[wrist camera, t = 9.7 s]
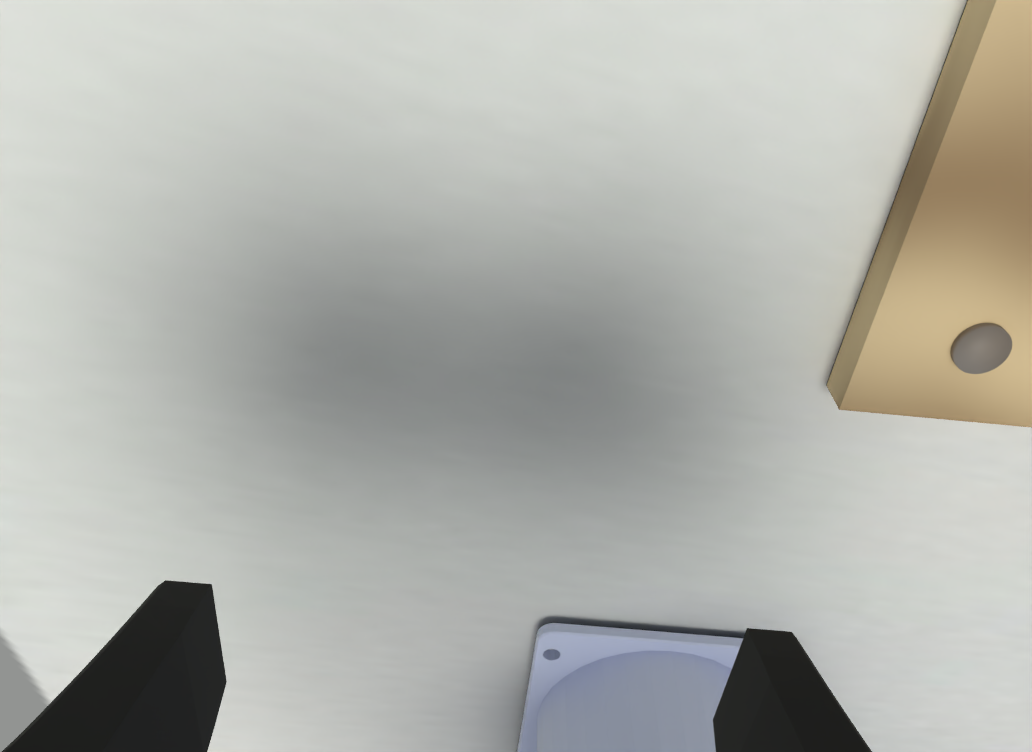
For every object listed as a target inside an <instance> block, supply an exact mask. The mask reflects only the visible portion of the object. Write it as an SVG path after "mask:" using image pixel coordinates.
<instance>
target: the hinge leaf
mask: <svg viewBox="0 0 1032 752" xmlns="http://www.w3.org/2000/svg"><path fill="white" fill-rule="evenodd" d="M827 387H828V389H829V391H830V393H831V395H832V397H833V399H834V401H835V402H836V404H837V406H838V408H839V410H849V411H860V412H871V413H882V414H893V415H903V416H914V417H925V418H936V419H947V420H958V421H968V422H979V423H990V424H1001V425H1012V426H1023V427H1032V0H968V1H967V4H966V7H965V9H964V12H963V15H962V18H961V20H960V23H959V26H958V29H957V31H956V34H955V37H954V39H953V42H952V45H951V48H950V50H949V53H948V56H947V59H946V61H945V64H944V67H943V69H942V72H941V75H940V78H939V80H938V83H937V86H936V89H935V91H934V94H933V97H932V99H931V102H930V105H929V108H928V110H927V113H926V116H925V119H924V121H923V124H922V127H921V129H920V132H919V135H918V138H917V140H916V143H915V146H914V149H913V151H912V154H911V157H910V159H909V162H908V165H907V168H906V170H905V173H904V176H903V179H902V181H901V184H900V187H899V189H898V192H897V195H896V198H895V200H894V203H893V206H892V209H891V211H890V214H889V217H888V219H887V222H886V225H885V228H884V230H883V233H882V236H881V239H880V241H879V244H878V247H877V249H876V252H875V255H874V258H873V260H872V263H871V266H870V269H869V271H868V274H867V277H866V279H865V282H864V285H863V288H862V290H861V293H860V296H859V299H858V301H857V304H856V307H855V309H854V312H853V315H852V318H851V320H850V323H849V326H848V328H847V331H846V334H845V337H844V339H843V342H842V345H841V348H840V350H839V353H838V356H837V358H836V361H835V364H834V367H833V369H832V372H831V375H830V378H829V380H828V383H827Z"/></svg>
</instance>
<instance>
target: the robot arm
mask: <svg viewBox="0 0 1032 752" xmlns="http://www.w3.org/2000/svg"><path fill="white" fill-rule="evenodd" d="M550 649H551V650H550ZM225 685H226V676H225V669H224V662H223V656H222V649H221V643H220V636H219V629H218V623H217V616H216V610H215V603H214V596H213V590H212V584H201V583H189V582H177V581H164V582H163V583H161V584H160V585H159V586H157V588H156V589H155V590H154V591H153V592H152V593H151V594H150V596H149V597H148V598H147V599H146V600H145V601H144V602H143V604H142V605H141V606H140V607H139V608H138V609H137V610H136V612H135V613H134V614H133V615H132V616H131V617H130V618H129V619H128V621H127V622H126V623H125V624H124V625H123V626H122V627H121V628H120V630H119V631H118V632H117V633H116V634H115V635H114V636H113V637H112V638H111V640H110V641H109V642H108V643H107V644H106V645H105V646H104V647H103V648H102V649H101V651H100V652H99V653H98V654H97V655H96V656H95V657H94V658H93V659H92V660H91V661H90V662H89V664H88V665H87V666H86V667H85V668H84V669H83V670H82V671H81V672H80V673H79V674H78V675H77V676H76V677H75V678H74V679H73V681H72V682H71V683H70V684H69V685H68V686H67V687H66V688H65V689H64V690H63V691H62V692H61V693H60V694H59V695H58V696H57V697H56V698H55V699H54V700H53V701H52V702H51V703H50V704H49V705H48V706H47V707H46V708H45V710H44V711H43V712H42V713H41V714H40V715H39V716H38V717H37V718H36V719H35V720H34V721H33V722H32V723H31V724H30V725H29V726H28V727H27V728H26V729H25V730H24V731H23V732H22V733H21V734H20V735H19V736H18V737H17V738H16V739H15V740H14V741H13V742H12V743H11V744H10V745H9V746H8V747H6V748H5V749H4V750H3V751H2V752H207V750H208V747H209V743H210V740H211V736H212V733H213V729H214V726H215V722H216V719H217V715H218V711H219V708H220V704H221V700H222V697H223V693H224V689H225ZM517 752H872V751H871V750H870V748H869V747H868V745H867V744H866V743H865V741H864V740H863V738H862V737H861V735H860V734H859V732H858V731H857V729H856V728H855V726H854V725H853V723H852V722H851V720H850V719H849V717H848V716H847V714H846V713H845V712H844V710H843V709H842V707H841V706H840V704H839V703H838V701H837V700H836V698H835V696H834V695H833V693H832V692H831V690H830V689H829V687H828V686H827V684H826V683H825V681H824V680H823V678H822V677H821V675H820V674H819V672H818V670H817V669H816V667H815V666H814V664H813V663H812V661H811V660H810V658H809V657H808V655H807V653H806V652H805V650H804V649H803V647H802V646H801V644H800V643H799V641H798V640H797V638H796V637H795V636H794V635H793V633H792V632H785V631H773V630H761V629H749V628H747V630H746V633H745V635H744V638H733V637H721V636H709V635H696V634H684V633H672V632H660V631H648V630H635V629H623V628H611V627H599V626H586V625H574V624H562V623H549V624H546V625H543V626H542V627H541V628H539V630H538V632H537V635H536V641H535V647H534V653H533V659H532V665H531V671H530V677H529V683H528V689H527V695H526V701H525V707H524V713H523V719H522V725H521V731H520V737H519V743H518V749H517Z"/></svg>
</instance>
